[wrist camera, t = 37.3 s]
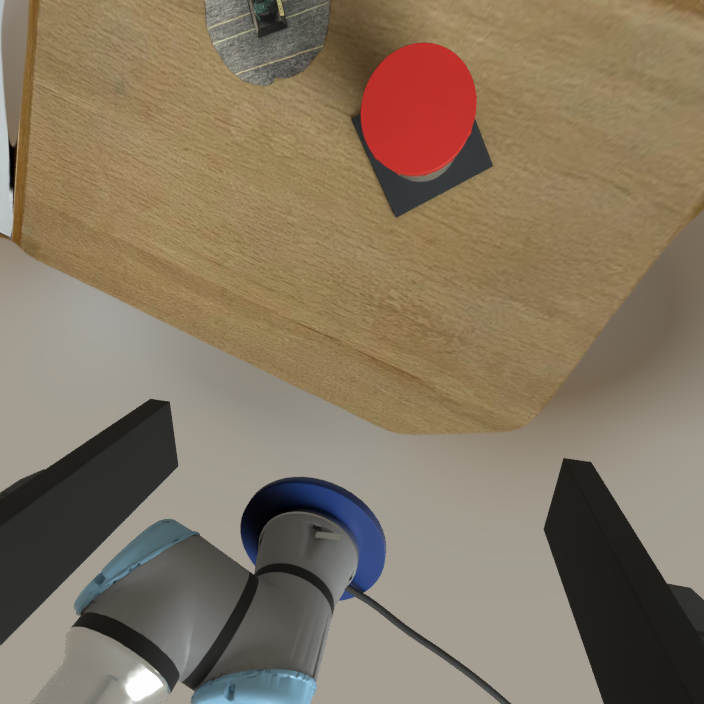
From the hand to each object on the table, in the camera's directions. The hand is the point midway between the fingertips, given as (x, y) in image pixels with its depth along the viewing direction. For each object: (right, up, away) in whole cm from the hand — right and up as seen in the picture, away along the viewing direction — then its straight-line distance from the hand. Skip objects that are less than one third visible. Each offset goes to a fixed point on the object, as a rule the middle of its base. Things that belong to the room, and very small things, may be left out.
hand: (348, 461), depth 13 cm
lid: (+4, +19, +13) cm, 24 cm away
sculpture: (-8, +35, +23) cm, 43 cm away
